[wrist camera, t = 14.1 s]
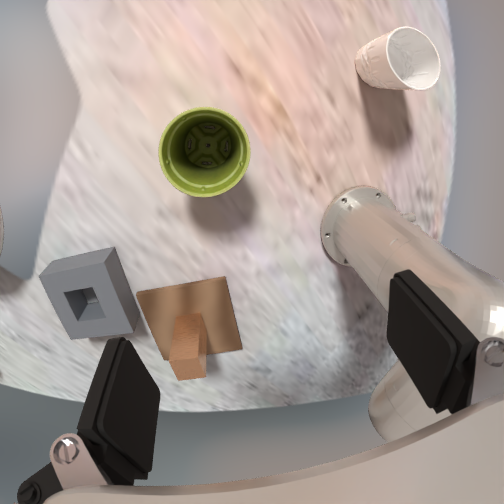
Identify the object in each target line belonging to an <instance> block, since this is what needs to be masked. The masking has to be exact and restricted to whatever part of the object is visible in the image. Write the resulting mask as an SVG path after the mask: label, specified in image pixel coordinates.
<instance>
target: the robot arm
mask: <svg viewBox="0 0 504 504" xmlns="http://www.w3.org/2000/svg"><path fill="white" fill-rule="evenodd" d="M376 194H377V195H376ZM342 198H343V200H342ZM341 200H342V201H341ZM415 220H416V216H415V214H414V213H407V214H404V215H403V214H402V213H400V212H399V211H397V210H396V208H395V205H394V203H393V202H392V200H391V199H390V198H389V197H388V195H386V194H385V193H384V192H382V191H380V190H378V189H377V188H373V187H370V186H358V187H353V188H350V189H348V190H346V191H344V192H342V193H341V194H340V195H338V196H337V197H336V198H335V199H334V200H333V201H332V202H331V204H330V205H329V206H328V208H327V210H326V212H325V214H324V217H323V219H322V224H321V238H322V243H323V245H324V247H325V250H326V251H327V252H328V254H329V255H330V256H331V257H332V258H333V259H334V260H335V261H336V262H338V263H339V264H342V265H344V266H349V267H353V268H354V270H355V271H356V272H357V273H358V275H359V276H360V277H361V278H362V280H363V281H364V282H365V284H366V285H367V286H368V287H369V289H370V290H371V291H372V293H373V294H374V295H375V297H376V298H377V299H378V301H379V302H380V303H381V305H382V306H383V307H384V309H385V310H386V311H387V312H388V325H387V340H388V343H389V345H390V346H391V348H392V349H393V351H394V352H395V354H396V356H397V357H398V360H397V362H396V363H395V364H394V365H393V366H392V368H391V369H390V370H389V371H388V372H387V374H386V375H385V376H384V377H383V379H382V380H381V381H380V382H379V384H378V385H377V386H376V388H375V389H374V391H373V393H372V395H371V397H370V400H369V406H368V412H369V416H370V420H371V422H372V424H373V426H374V427H375V429H376V431H377V432H378V433H379V434H380V436H381V437H382V438H383V439H384V440H386V441H387V442H388V443H386V444H384V445H381V446H378V447H376V448H373V449H370V450H367V451H364V452H361V453H358V454H355V455H352V456H349V457H346V458H342V459H339V460H336V461H332V462H329V463H325V464H321V465H317V466H313V467H309V468H306V469H301V470H297V471H292V472H287V473H282V474H278V475H272V476H267V477H261V478H255V479H248V480H240V481H232V482H224V483H214V484H202V485H185V486H184V485H183V486H134V485H133V484H134V479H145V480H147V478H148V472H150V471H151V470H152V462H153V453H154V443H155V434H156V425H157V418H158V410H159V403H160V390H159V388H158V386H157V385H156V383H155V382H154V380H153V378H152V377H151V375H150V374H149V372H148V370H147V369H146V367H145V365H144V364H143V362H142V360H141V359H140V357H139V355H138V354H137V352H136V350H135V348H134V347H133V345H132V343H131V342H130V341H129V340H126V339H125V338H124V337H119V338H113V339H109V340H108V341H107V343H106V346H105V348H104V351H103V353H102V356H101V359H100V361H99V364H98V367H97V369H96V372H95V375H94V378H93V381H92V383H91V386H90V389H89V392H88V395H87V398H86V401H85V404H84V407H83V410H82V413H81V416H80V420H79V423H78V426H77V429H78V433H77V435H76V434H71V433H68V434H64V435H62V436H60V437H59V438H58V439H56V440H55V442H54V443H53V444H52V447H51V449H50V459H51V462H50V463H49V464H48V465H46V466H45V467H44V468H42V469H41V470H39V471H38V472H37V473H35V474H34V475H32V476H31V477H30V478H28V479H27V480H26V481H24V482H23V483H22V484H21V486H20V487H19V489H18V493H17V499H18V504H504V281H502V280H500V279H498V278H496V277H494V276H492V275H490V274H489V273H487V272H485V271H483V270H481V269H479V268H477V267H475V266H474V265H472V264H470V263H469V262H467V261H465V260H464V259H462V258H460V257H459V256H458V255H456V254H455V253H453V252H452V251H451V250H449V249H448V248H446V247H445V246H443V245H442V244H441V243H439V242H438V241H436V240H435V239H434V238H432V237H431V236H429V235H428V234H427V233H425V232H424V231H422V229H421V227H420V226H419V225H414V224H412V223H411V222H414V221H415ZM326 233H327V234H326ZM325 234H326V235H325ZM14 504H16V503H15V502H14Z"/></svg>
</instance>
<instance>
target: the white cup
mask: <svg viewBox="0 0 504 504" xmlns="http://www.w3.org/2000/svg"><path fill="white" fill-rule="evenodd" d="M355 65H356V70H357V72H358V74H359V75H360V77H361V79H362V80H363V81H364V82H366V83H367V84H368V85H370V86H372V87H376V88H385V89H397V90H420V91H422V90H427V89H430V88H431V87H433V86H434V85H435V84H436V82H437V81H438V78H439V76H440V70H441V64H440V58H439V55H438V52H437V50H436V48H435V46H434V44H433V43H432V42H431V40H430V39H429V38H428V37H427V36H426V35H425V34H424V33H422V32H421V31H419V30H417V29H415V28H411V27H400V28H397V29H395V30H393V31H391V32H389V33H387V34H384V35H382V36H380V37H378V38H377V39H375V40H373V41H371V42H369V43H368V44H366V45H364V46H363V47H362V48H361V49H360V50H359V51H358V52H357V55H356V58H355Z"/></svg>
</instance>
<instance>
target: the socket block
mask: <svg viewBox="0 0 504 504" xmlns="http://www.w3.org/2000/svg"><path fill="white" fill-rule="evenodd" d="M39 278H40V280H41V282H42V285H43V287H44V289H45V291H46V293H47V295H48V297H49V299H50V301H51V303H52V305H53V307H54V309H55V311H56V313H57V315H58V317H59V319H60V321H61V323H62V324H63V326H64V328H65V330H66V332H67V334H68V335H69V337H70V339H71V340H72V339H82V338H92V337H102V336H111V335H119V334H128V333H134V330H135V327H136V324H137V321H138V318H139V315H140V312H139V310H138V307H137V305H136V302H135V300H134V297H133V295H132V292H131V290H130V287H129V285H128V282H127V280H126V277H125V274H124V272H123V269H122V266H121V263H120V261H119V258H118V255H117V252H116V249H115V247H111V248H106V249H102V250H97V251H93V252H89V253H84V254H80V255H76V256H71V257H67V258H63V259H59V260H55V261H52V262H51V263H50V264H49V265H48V266H47V268H46V269H45V270H44V271H43V272H42V273H41V274H40V275H39ZM90 287H93V289H94V292H95V294H96V296H97V299H98V301H99V302H96V303H89V304H88V303H87V301H86V299H85V296H84V294H83V292H82V290H81V289H84V288H90Z"/></svg>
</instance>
